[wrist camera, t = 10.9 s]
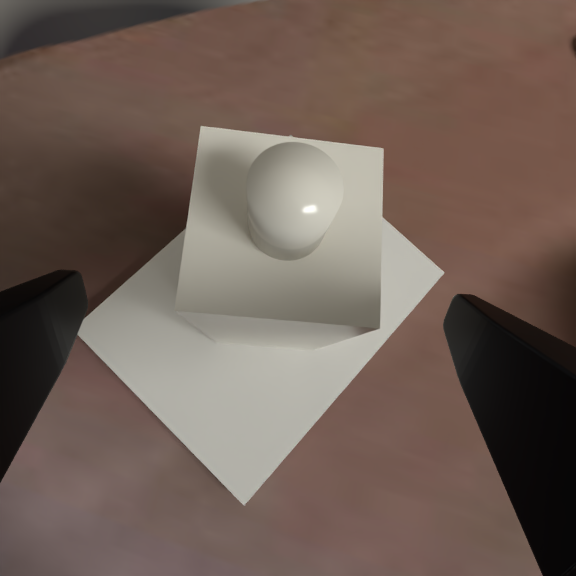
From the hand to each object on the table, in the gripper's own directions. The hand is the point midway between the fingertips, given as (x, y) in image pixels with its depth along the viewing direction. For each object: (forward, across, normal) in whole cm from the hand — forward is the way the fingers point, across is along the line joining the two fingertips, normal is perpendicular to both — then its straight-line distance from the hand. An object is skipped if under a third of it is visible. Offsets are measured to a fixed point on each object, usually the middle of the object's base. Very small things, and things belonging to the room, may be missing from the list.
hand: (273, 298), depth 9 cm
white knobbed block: (+9, 0, +6) cm, 11 cm away
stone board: (+10, 0, +7) cm, 12 cm away
